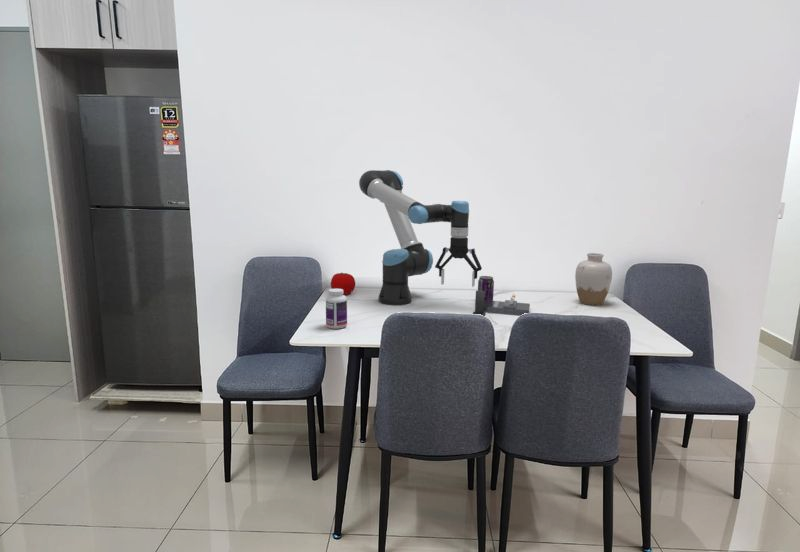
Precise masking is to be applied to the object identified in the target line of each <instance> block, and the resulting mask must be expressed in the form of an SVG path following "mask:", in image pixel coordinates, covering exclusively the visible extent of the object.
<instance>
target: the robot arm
mask: <svg viewBox="0 0 800 552" xmlns="http://www.w3.org/2000/svg"><path fill="white" fill-rule="evenodd" d="M403 181H404V180H403V177H402V175H401V174H400V173H399V172H397V171H396V170H395V171H394V170H389V169H386V170H374V169H373V170H371V169H370V170H368V171H365V172H363V174H362V175H361V176H360V177H359V180H358V184H359V190H360V191H361V192H362V193H363V194H364V195H365V196H367V197H368V198H370V199H377V200H379V202H381V203H382V204H384V207H385V209H386V212H387V215H388V218H389V220H390V222H391V225H392V228H393V231H394V233H395V235H396V238H397V240H398V243H399V245H400V248H395V249H389V250H386V251H384V252H383V255H382V261H381V263H382V285H381V287H380V291H379V294H378V302H379V303H380V304H383V305H384V304H385V305H391V306H392V305H393V306H399V305H401V306H403V305H407V304H409V303H410V304H411V302H412V300H413V299H412V298H413V297H412V294H411V290H410V287H409V277H414V276H421V275H425V274H426V273H428V272H429V271H430V270H431V269H432V267H433V264H434V258H433V253H432V252H431V251H430V250H429V249H427V248H424V244H423V243H422V242H421V241H418V238H417V236H416V233H415V231H414V227H413V225H412V224H418V225H422V224H428V223H429V224H431V223H441V222H442V223H450V242H449V243H450V247H446V246H444V247H443V248H442V252H441V254H440V256H439V258H438V260H437V262H436V264H435V265H434V268H435V269H438V277H440V278H441V279H440V283H441V284H440V285H444V284H445V268H444V267H445V266H446V265H447V264H448V263H449V262H450V261H451V260H452V259H453V258H454V259H461V260H462V259H464V260H465V261H466V262H467V264H468V265H469V266H470V268H471V269H472V273H471V274H472V275H471V276H472V277H471V287H473V288H474V287H475V282H476V280H477V279H478V272H479V271H482V269H483V268H482V266H481V263H480V261H479V258H478V257H477V254H476V249H475V248H469V246H468V245H469V244H468V243H469V238H468V236H469V217H470V203H469V202H468V201H466V200H452V201H451V204H441V203H435V204H434V203H433V204H429V205H428V204H427V205H426V204H423V203H421V202H419V201H418V200H415V199H413V198H412V197H409V196H408V195H406V194H404V193H403V191H402V190H403V188H404V186H403V185H404V182H403ZM448 252H449V253H450V255H449V256H448V257H447V258H446V259H445V261H443V259H444V258H445V255H446V254H447V253H448ZM468 253H470V254H471V256H472V258H473V261H474V262H473V261H472V260H471V258H470V257H469V255H467V254H468ZM442 261H443V263H442Z"/></svg>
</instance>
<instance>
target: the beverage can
mask: <svg viewBox="0 0 800 552" xmlns="http://www.w3.org/2000/svg"><path fill="white" fill-rule="evenodd" d="M494 287H495V281H494V277H493V276H489V275H480V276H479V278H478V280H477V291H478V290H481V291H485V293H484V300H489V301H494V292H495V291H494Z"/></svg>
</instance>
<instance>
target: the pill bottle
mask: <svg viewBox="0 0 800 552" xmlns="http://www.w3.org/2000/svg"><path fill="white" fill-rule="evenodd" d="M347 325H348V299H347V296H346V295H343V289H332V288H330V289H328V295H327V296H326V297H325V326H326V327H327V328H329V329H331V330H332V329H333V330H335V329H336V330H339V329H345V328H346V327H347Z"/></svg>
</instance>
